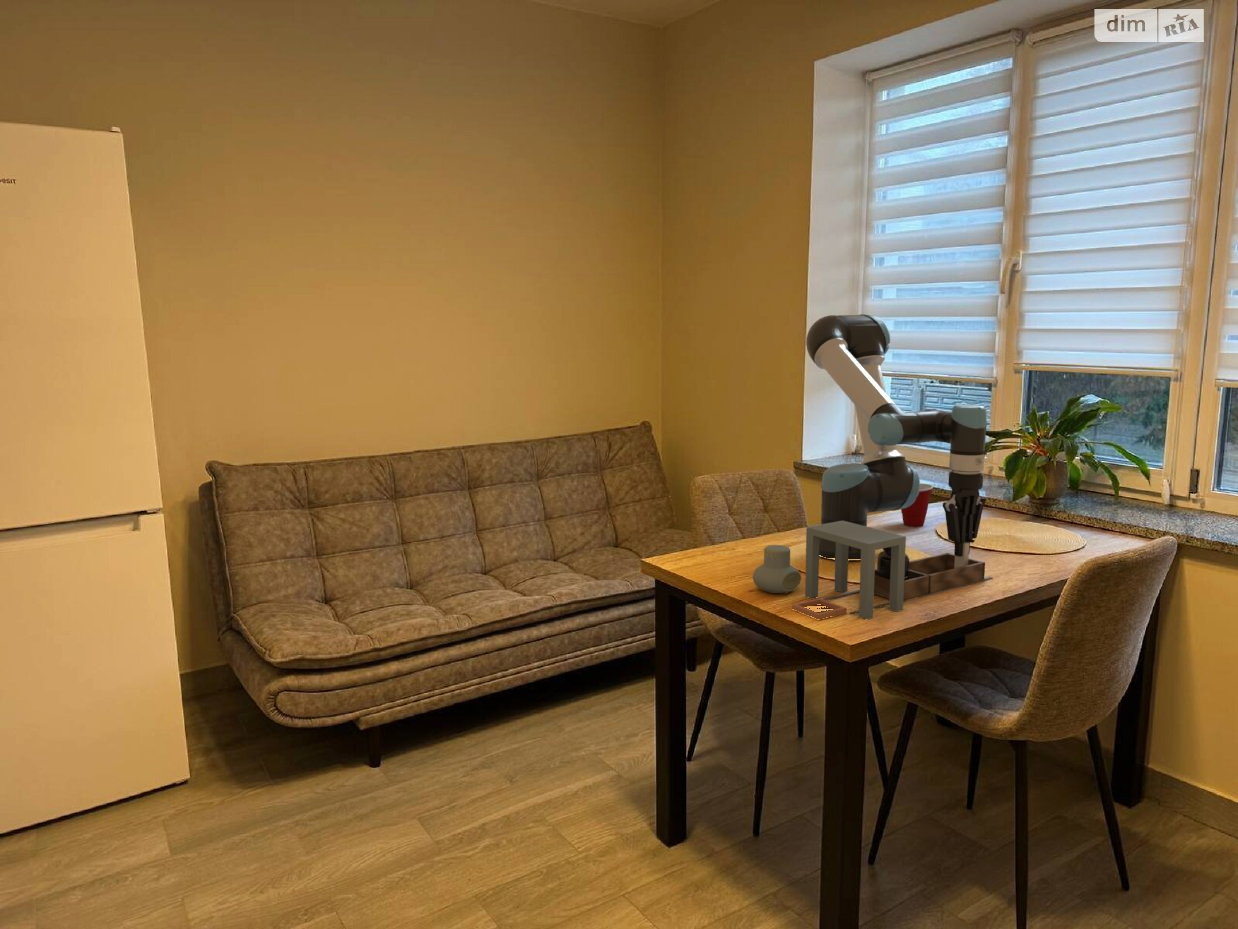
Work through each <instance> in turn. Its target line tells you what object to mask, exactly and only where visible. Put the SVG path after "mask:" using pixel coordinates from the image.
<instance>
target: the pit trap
mask: <svg viewBox="0 0 1238 929" xmlns="http://www.w3.org/2000/svg"><path fill="white" fill-rule="evenodd" d="M817 604H821V605H817ZM807 606H826V608H825V607H824V608H822V607H821V609H833V610H828V611H827V610H826V611H821V612H814V611H812V610H809V609H810V608H809V609H807V608H804V607H807ZM827 607H828V608H827ZM792 609H794V610H797V611H799V612H801V613H804V614H806V615H809V616H812V617H814V618H816V619H822V620H824V619H823V618H826V617H830V616H834V617H837V615H838V616H841V615H840V614H842V615H845V614H844V613H846V614H847V610H848V609H847V607H845V606H842V605H840V604H837V603H834V602H833V601H832V602H831V601H830V600H824V599H823V598H821V597H818V598H814V599H809V600H805V601H801V602H797V603H793V604H791V610H792ZM817 609H818V608H817ZM819 609H820V608H819ZM801 613H800V614H801ZM806 615H805V616H806ZM830 618H831V617H830ZM816 619H815V620H816ZM826 619H827V618H826Z"/></svg>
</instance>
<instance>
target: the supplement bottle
mask: <svg viewBox="0 0 1238 929" xmlns="http://www.w3.org/2000/svg"><path fill="white" fill-rule="evenodd" d="M876 560H877V562H876V563H877V565H876V569H877V576H880V577H883V578H886V579H889V580H890V571H891V547H887V548H882V551H881V552H879V554H878V555H877V558H876ZM909 561H910V558H909V555H908V554H907V553H905V572H904V581H905V580H908V575H909Z"/></svg>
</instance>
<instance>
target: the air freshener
mask: <svg viewBox="0 0 1238 929" xmlns="http://www.w3.org/2000/svg"><path fill="white" fill-rule="evenodd" d="M752 581H753V583H754V585H755V586H756V587H757V588H759V589H760V590H762V591H764V592H766V593H769V592H771V593H770V594H777V593H785V594H787V593H786V592H788V593H790V592H792V591H794V590H795V589H797V587H799V585H800V583H801V581H802V576H801V573H800V571H799V570H798V568H796V567H795V566H794V565H792V564H791V548H790V547H789V546H786V545H781V544H772V545H767V546H765V547H764V548H763V564H760V565H759V566H758V567H757V568H755V570H754V571H753V573H752Z"/></svg>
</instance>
